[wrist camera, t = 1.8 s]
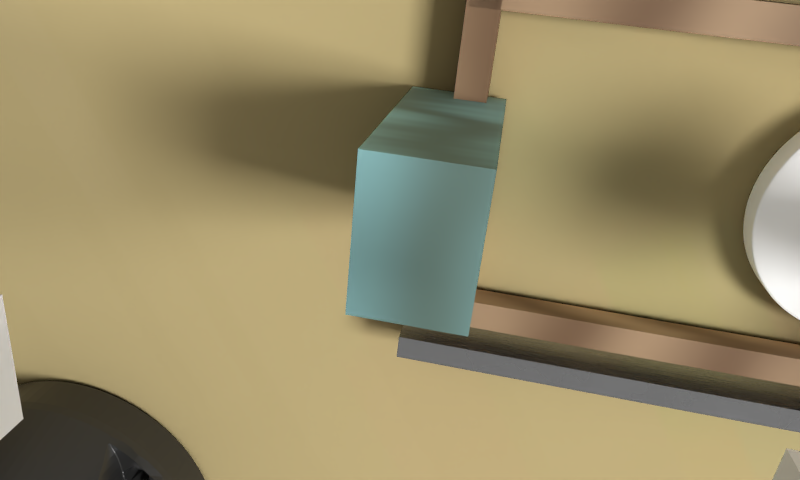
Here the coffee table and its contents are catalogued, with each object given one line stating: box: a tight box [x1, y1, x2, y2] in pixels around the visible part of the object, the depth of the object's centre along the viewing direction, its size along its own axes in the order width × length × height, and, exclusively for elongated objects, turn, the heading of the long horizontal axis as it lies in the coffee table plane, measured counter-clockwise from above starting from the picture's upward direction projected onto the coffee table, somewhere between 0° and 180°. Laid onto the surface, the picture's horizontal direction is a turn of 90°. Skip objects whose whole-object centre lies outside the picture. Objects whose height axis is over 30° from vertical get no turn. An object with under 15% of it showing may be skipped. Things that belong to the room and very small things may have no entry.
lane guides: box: [397, 325, 800, 432], centre depth 24 cm, size 25×17×2 cm
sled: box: [346, 0, 800, 386], centre depth 20 cm, size 25×14×9 cm, turn 84°
